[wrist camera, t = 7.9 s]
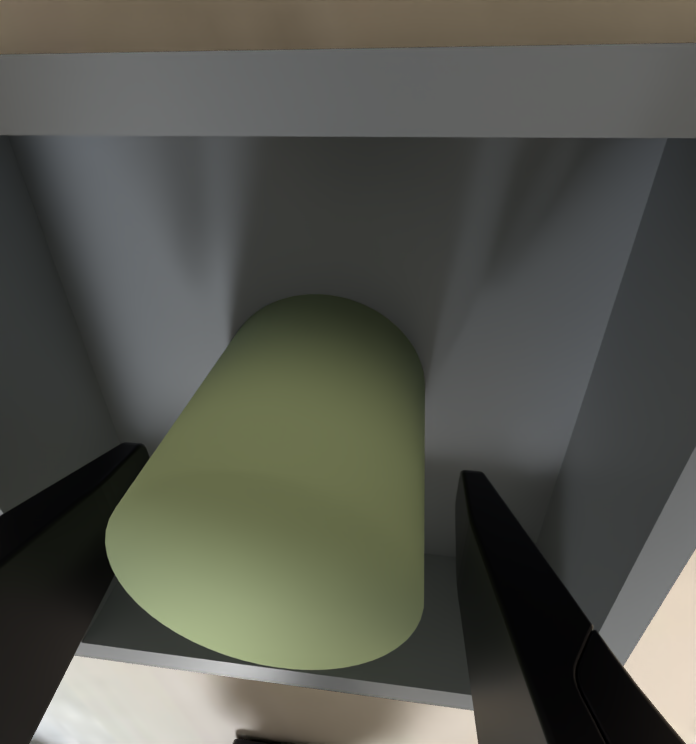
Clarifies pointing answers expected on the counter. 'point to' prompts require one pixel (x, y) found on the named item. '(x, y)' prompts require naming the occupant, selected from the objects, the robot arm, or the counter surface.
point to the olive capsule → (288, 494)
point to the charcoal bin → (372, 291)
